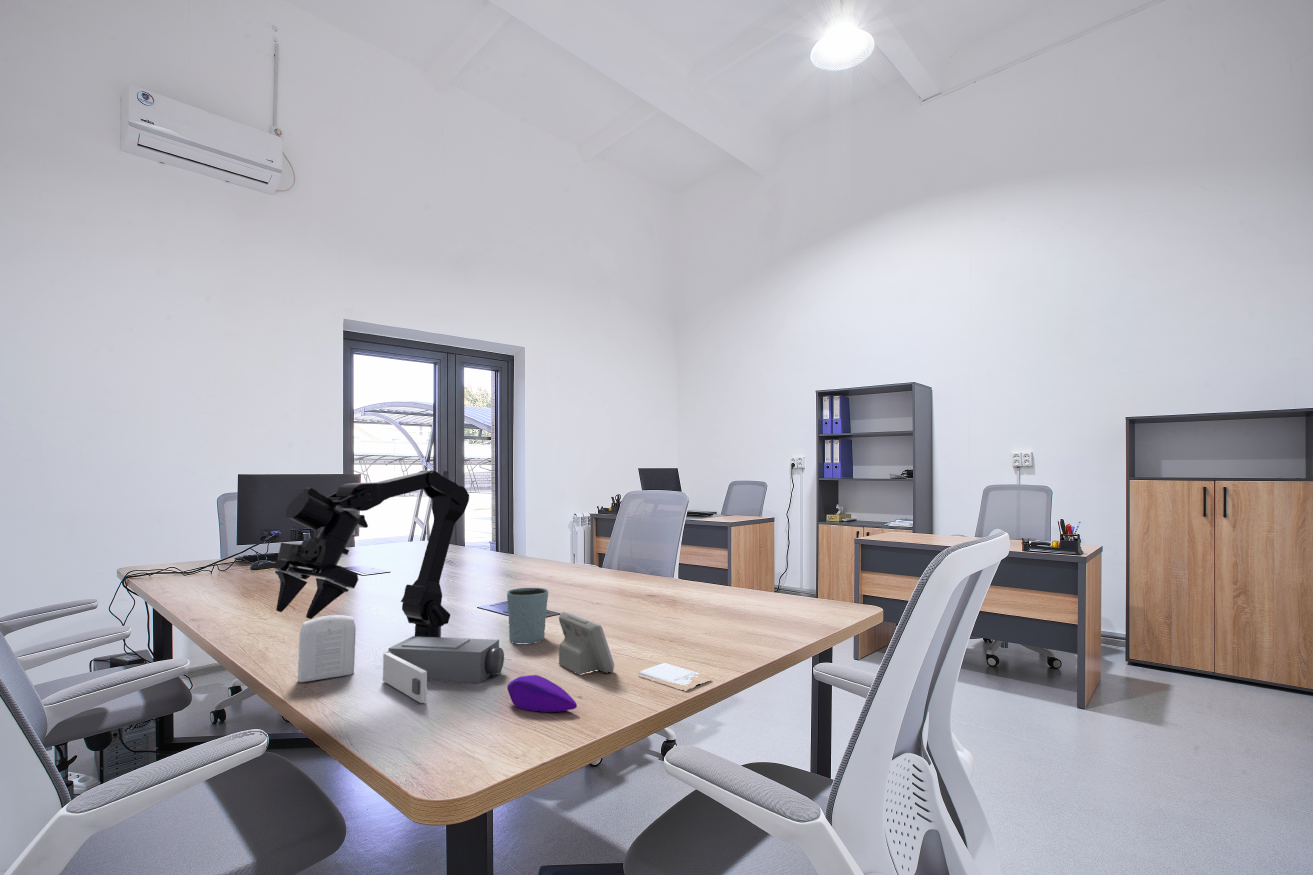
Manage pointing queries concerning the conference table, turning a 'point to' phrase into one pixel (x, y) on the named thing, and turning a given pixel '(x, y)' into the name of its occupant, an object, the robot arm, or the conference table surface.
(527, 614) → the teal cup
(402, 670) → the side door
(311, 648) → the white upright block
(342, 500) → the robot arm
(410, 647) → the camera housing
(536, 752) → the conference table surface
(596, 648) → the digital clock
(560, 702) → the purple teardrop stone
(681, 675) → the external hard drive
